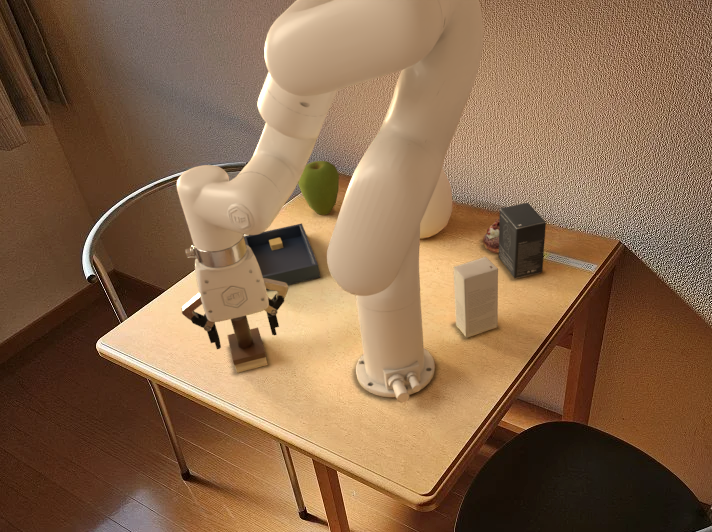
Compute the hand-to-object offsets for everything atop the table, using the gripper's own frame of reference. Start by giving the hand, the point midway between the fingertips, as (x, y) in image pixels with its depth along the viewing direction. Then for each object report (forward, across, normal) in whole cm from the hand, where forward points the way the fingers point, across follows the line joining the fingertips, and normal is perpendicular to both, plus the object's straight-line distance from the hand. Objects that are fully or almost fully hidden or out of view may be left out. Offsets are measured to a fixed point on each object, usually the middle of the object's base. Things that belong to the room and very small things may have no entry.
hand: (245, 337), depth 122 cm
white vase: (+4, +39, +27) cm, 48 cm away
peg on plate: (+4, 0, 0) cm, 4 cm away
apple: (+4, +22, +42) cm, 48 cm away
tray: (+4, +10, +26) cm, 28 cm away
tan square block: (+3, +10, +32) cm, 33 cm away
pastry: (+4, +52, +15) cm, 54 cm away
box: (+4, +52, +7) cm, 53 cm away
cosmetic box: (+4, +38, -7) cm, 39 cm away
